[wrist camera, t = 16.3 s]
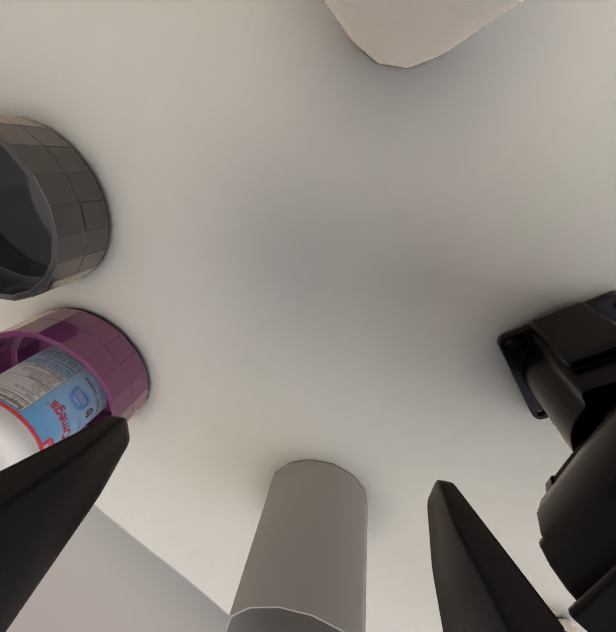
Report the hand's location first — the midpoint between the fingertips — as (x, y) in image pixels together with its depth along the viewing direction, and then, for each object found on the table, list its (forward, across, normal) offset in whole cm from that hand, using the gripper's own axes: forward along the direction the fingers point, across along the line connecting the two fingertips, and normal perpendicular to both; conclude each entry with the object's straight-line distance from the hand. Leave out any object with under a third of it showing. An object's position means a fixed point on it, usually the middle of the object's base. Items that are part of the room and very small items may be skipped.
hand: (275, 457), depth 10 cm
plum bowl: (+14, +18, +10) cm, 24 cm away
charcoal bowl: (+14, +19, -3) cm, 24 cm away
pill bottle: (+14, +17, +10) cm, 24 cm away
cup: (+13, -2, +18) cm, 22 cm away
